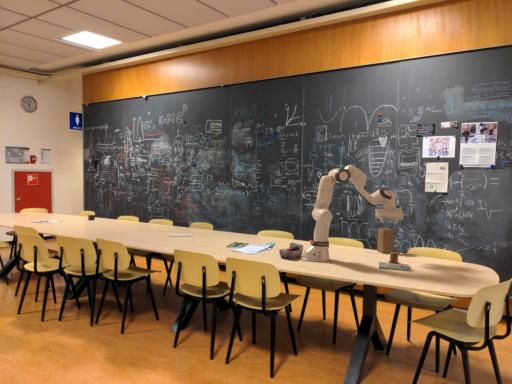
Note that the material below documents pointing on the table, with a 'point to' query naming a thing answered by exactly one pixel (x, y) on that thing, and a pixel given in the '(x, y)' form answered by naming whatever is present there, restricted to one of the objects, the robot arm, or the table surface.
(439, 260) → the table surface
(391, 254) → the pillar
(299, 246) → the cell model
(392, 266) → the board
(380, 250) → the block
